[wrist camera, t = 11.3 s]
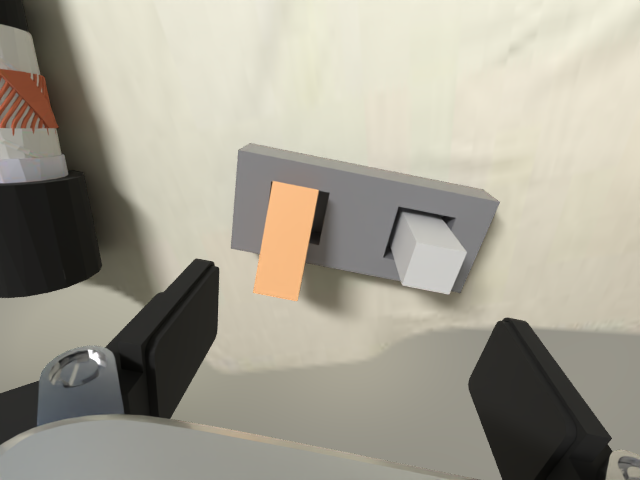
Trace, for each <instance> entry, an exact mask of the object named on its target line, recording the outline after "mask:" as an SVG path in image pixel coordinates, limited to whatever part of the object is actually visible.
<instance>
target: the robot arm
mask: <svg viewBox="0 0 640 480" xmlns="http://www.w3.org/2000/svg"><path fill="white" fill-rule="evenodd" d="M218 294H219V268H218V267H215V265H214V262H212V261H207V260H202V259H195V260H194V261H193V262H192V263H191V264H190V265H189V266H188V267H187V268H186V269H185V270H184V271H183V272H182V273H181V274H180V275H179V276H178V278H177V279H176V280H175V281H174V282H173V283H172V284H171V285H170V286H169V287H168V288H167V289H166V290H165V291H164V292H160V293H158V294H157V295H156V296H155V297H154V298H153V299H152V300H151V301H150V302H149V303H148V304H147V305H146V306H145V307H144V308H143V309H142V310H141V311H140V312H139V313H138V314H137V315H136V316H135V317H134V318H133V319H132V320H131V321H130V322H129V323H128V324H127V326H125V328H123V330H122V331H121V332H120V333H119V334H118V335H117V336H116V337H115V338H114V339H113V340H112V341H111V342H110V343H109V344H108V345H107V346H106V347H105V348H104V347H101V346H83V347H78V348H75V349H72V350H69V351H66V352H64V353H62V354H61V355H59V356H57V357H55V358H54V359H53V360H52V361H50V362H49V363H48V364H47V365H46V367H45V368H44V369H43V370H42V372H41V376H40V380H39V381H37V382H34V383H30V384H27V385H25V386H21V387H18V388H15V389H12V390H9V391H6V392H3V393H0V480H478V479H474V478H469V477H464V476H459V475H455V474H450V473H445V472H440V471H435V470H430V469H425V468H420V467H416V466H410V465H406V464H401V463H396V462H391V461H386V460H381V459H377V458H372V457H367V456H362V455H357V454H352V453H347V452H342V451H336V450H332V449H327V448H322V447H317V446H311V445H307V444H302V443H296V442H291V441H286V440H281V439H276V438H271V437H266V436H261V435H256V434H251V433H245V432H241V431H235V430H230V429H224V428H219V427H213V426H208V425H202V424H196V423H191V422H186V421H180V420H174V419H170V418H171V416H172V414H173V413H174V411H175V409H176V407H177V405H178V404H179V402H180V400H181V399H182V397H183V395H184V393H185V391H186V390H187V388H188V386H189V384H190V383H191V381H192V379H193V377H194V376H195V374H196V372H197V370H198V368H199V367H200V365H201V363H202V361H203V360H204V358H205V356H206V354H207V353H208V351H209V349H210V347H211V345H212V344H213V342H214V340H215V338H216V334H217V326H218ZM468 385H469V391H470V394H471V397H472V399H473V402H474V405H475V407H476V410H477V413H478V415H479V418H480V421H481V424H482V426H483V429H484V432H485V434H486V437H487V440H488V442H489V445H490V448H491V450H492V453H493V456H494V458H495V460H496V464H497V466H498V469H499V472H500V474H501V477H502V480H640V455H638V454H635V453H632V452H629V451H626V450H616V451H612V450H611V448H610V447H609V446H608V443H609V441H610V440H611V439H612V438H611V436H610V435H609V434H608V432H607V431H606V430H605V428H604V427H603V426H602V424H601V423H600V421H599V420H598V419H597V417H596V416H595V415H594V413H593V412H592V411H591V409H590V408H589V406H588V405H587V404H586V402H585V401H584V399H583V398H582V397H581V395H580V394H579V393H578V391H577V390H576V389H575V387H574V386H573V385H572V383H571V382H570V380H569V379H568V378H567V376H566V375H565V373H564V372H563V371H562V369H561V368H560V367H559V365H558V364H557V363H556V361H555V360H554V359H553V357H552V356H551V354H550V353H549V352H548V350H547V349H546V347H545V346H544V345H543V343H542V342H541V341H540V339H539V338H538V337H537V335H536V334H535V333H534V331H533V330H532V328H531V327H530V326H529V324H528V323H527V322H526V321H522V320H517V319H512V318H504V319H503V320H502V321H498V322H497V324H496V325H495V327H494V329H493V331H492V334H491V336H490V338H489V340H488V342H487V344H486V346H485V348H484V350H483V352H482V354H481V356H480V358H479V360H478V362H477V364H476V367H475V369H474V370H473V373H472V375H471V377H470V379H469V384H468Z"/></svg>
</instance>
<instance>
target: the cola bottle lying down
mask: <svg viewBox="0 0 640 480" xmlns="http://www.w3.org/2000/svg"><path fill="white" fill-rule="evenodd" d="M56 128H59V127H58V125H57V123H56V120H55V117H54V114H53V112H52V109H51V105H50V101H49V95H48V91H47V86H46V81H45V77H44V76H42V75H40V71H39V66H38V62H37V57H36V53H35V48H34V44H33V39H32V35H31V34H30V33H29V31H28V27H27V22H26V17H25V13H24V8H23V3H22V0H0V298H14V297H26V296H32V295H38V294H43V293H48V292H52V291H56V290H60V289H63V288H67V287H70V286H72V285H74V284H77V283H79V282H82V281H84V280H87V279H88V278H90V277H91V276H93V275H94V274H96V273H97V272H99V271H100V269H101V267H102V263H101V258H100V253H99V248H98V243H97V238H96V233H95V228H94V223H93V218H92V213H91V208H90V203H89V198H88V193H87V189H86V184H85V179H84V174H83V172H77V171H70V170H67V165H66V160H65V156H64V154H62V153H61V149H60V144H59V139H58V134H57V129H56Z"/></svg>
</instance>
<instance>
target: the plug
mask: <svg viewBox="0 0 640 480" xmlns="http://www.w3.org/2000/svg"><path fill="white" fill-rule="evenodd" d="M318 195H319V190H317V189H312V188H307V187H302V186H296V185H291V184H286V183H281V182H276V181H273V183H272V188H271V194H270V200H269V205H268V211H267V217H266V222H265V228H264V234H263V239H262V245H261V251H260V256H259V262H258V268H257V273H256V279H255V285H254V290H253V293H257V294H262V295H267V296H273V297H278V298H283V299H288V300H293V301H297V300H298V296H299V292H300V288H301V283H302V277H303V272H304V267H305V262H306V257H307V252H308V246H309V241H310V236H311V231H312V226H313V221H314V215H315V210H316V205H317V200H318Z"/></svg>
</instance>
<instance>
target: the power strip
mask: <svg viewBox="0 0 640 480" xmlns="http://www.w3.org/2000/svg"><path fill="white" fill-rule="evenodd" d="M273 181H276V182H281V183H286V184H291V185H296V186H302V187H307V188H312V189H317V190H319V195H318V200H317V205H316V210H315V215H314V221H313V226H312V231H311V236H310V241H309V246H308V252H307V257H306V262H305V263H309V264H314V265H319V266H324V267H329V268H334V269H340V270H345V271H350V272H355V273H360V274H365V275H371V276H376V277H381V278H386V279H391V280H396V281H401V284H402V286H408V287H413V288H418V289H423V290H428V291H433V292H439V293H444V294H450V292H451V291H453V292H458V293H460V292H461V290H462V288H463V286H464V283H465V281H466V279H467V276H468V274H469V272H470V270H471V267H472V265H473V263H474V260H475V258H476V256H477V254H478V251H479V249H480V247H481V244H482V242H483V240H484V237H485V235H486V233H487V231H488V228H489V226H490V224H491V221H492V219H493V217H494V215H495V212H496V210H497V208H498V205H499V203H500V202H499V201H498V200H497V199H495V198H494V197H493V196H491V195H490V194H488V193H487V192H486V191H484V190H482V189H477V188H472V187H467V186H462V185H457V184H452V183H447V182H442V181H437V180H432V179H427V178H422V177H417V176H412V175H407V174H402V173H397V172H392V171H387V170H382V169H377V168H372V167H367V166H362V165H357V164H352V163H347V162H342V161H337V160H332V159H327V158H322V157H317V156H312V155H307V154H302V153H297V152H292V151H287V150H281V149H276V148H271V147H266V146H261V145H256V144H251V143H249V144H248V145H246V146H244V147H243V148H241V149H239V150H238V162H237V175H236V188H235V201H234V214H233V227H232V240H231V249H236V250H242V251H247V252H252V253H257V254H260V251H261V245H262V239H263V234H264V228H265V222H266V217H267V211H268V205H269V200H270V194H271V188H272V183H273Z"/></svg>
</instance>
